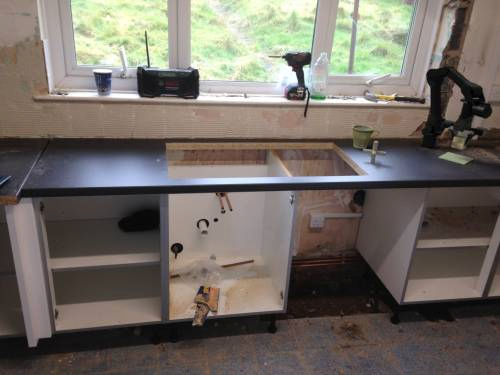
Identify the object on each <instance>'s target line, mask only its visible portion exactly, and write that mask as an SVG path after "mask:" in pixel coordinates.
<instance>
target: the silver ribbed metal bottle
mask: <svg viewBox="0 0 500 375" xmlns="http://www.w3.org/2000/svg"><path fill="white" fill-rule="evenodd" d="M475 120H476V116H474V118H473V121H472V126H473V124H474V122H475ZM472 126H471V127H472ZM472 128H473V127H472ZM469 133H470V131H467V130H464V132H460V131H458V132H457V135H459V136H464V137H467V136H468V134H469Z"/></svg>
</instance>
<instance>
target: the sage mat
mask: <svg viewBox="0 0 500 375" xmlns="http://www.w3.org/2000/svg"><path fill="white" fill-rule="evenodd" d="M438 159H443V160H445V161H450V162H453V163H457V164H461V165H463V166H465V165H466V164H467V163H469V162H471V161H473V160H474V158H472V157H469V156H465V155H461V154H457V153H453V152H451V151H448V152H446V153H444V154H442V155H439V156H438Z"/></svg>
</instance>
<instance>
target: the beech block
mask: <svg viewBox="0 0 500 375" xmlns="http://www.w3.org/2000/svg"><path fill="white" fill-rule="evenodd" d="M466 139H467V137H464V136H459V135H457V136H455V137H454V138H453V142H452V141H451V146H450V147H451V148H454V149H458V150H461V151H463V150H464V149H466V147H467V146H466V147H464V145H465V142H466Z"/></svg>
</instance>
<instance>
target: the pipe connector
mask: <svg viewBox="0 0 500 375" xmlns="http://www.w3.org/2000/svg"><path fill="white" fill-rule="evenodd" d="M378 144H379V141H377V140H374V141H373V146H372V149H369V148H365V149H362V153H363V154H370V155H371V157H370V163H371V164H375V162H376V156H377V155H378V156H383V157H385V156H386V154H387V152H386V151H383V150H382V151H381V150H378V146H379V145H378Z"/></svg>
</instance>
